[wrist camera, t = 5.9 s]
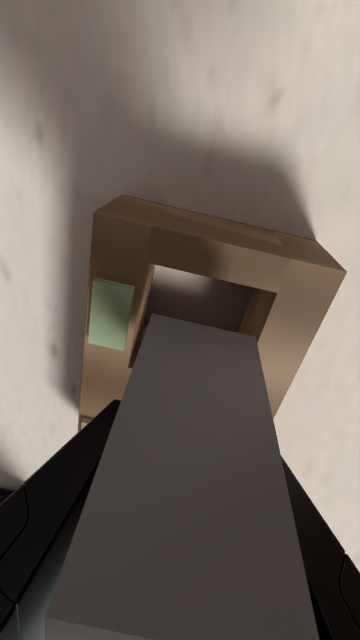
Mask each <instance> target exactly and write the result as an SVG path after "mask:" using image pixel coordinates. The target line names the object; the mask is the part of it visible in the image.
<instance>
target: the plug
mask: <svg viewBox="0 0 360 640" xmlns="http://www.w3.org/2000/svg"><path fill="white" fill-rule="evenodd" d="M45 640H319V635H318V631H317V626H316V621H315V616H314V612H313V607H312V602H311V597H310V593H309V588H308V583H307V578H306V574H305V569H304V564H303V559H302V555H301V550H300V545H299V540H298V536H297V531H296V526H295V521H294V517H293V512H292V507H291V502H290V497H289V493H288V488H287V483H286V478H285V474H284V469H283V464H282V459H281V455H280V450H279V445H278V440H277V436H276V431H275V426H274V421H273V417H272V412H271V407H270V402H269V398H268V393H267V388H266V383H265V379H264V374H263V369H262V364H261V360H260V355H259V350H258V345H257V341H256V337H254V336H250V335H245V334H241V333H237V332H232V331H228V330H224V329H219V328H215V327H210V326H206V325H202V324H197V323H193V322H189V321H184V320H180V319H175V318H171V317H167V316H162V315H158V314H154V313H152V315H151V318H150V320H149V323H148V326H147V329H146V332H145V335H144V337H143V340H142V343H141V346H140V349H139V352H138V354H137V357H136V360H135V363H134V366H133V369H132V371H131V374H130V377H129V380H128V383H127V386H126V388H125V391H124V394H123V397H122V400H121V403H120V405H119V408H118V411H117V414H116V417H115V420H114V422H113V425H112V428H111V431H110V434H109V437H108V439H107V442H106V445H105V448H104V451H103V454H102V456H101V459H100V462H99V465H98V468H97V471H96V473H95V476H94V479H93V482H92V485H91V488H90V490H89V493H88V496H87V499H86V502H85V505H84V507H83V510H82V513H81V516H80V519H79V522H78V524H77V527H76V530H75V533H74V536H73V539H72V541H71V544H70V547H69V550H68V553H67V556H66V558H65V561H64V564H63V567H62V570H61V573H60V575H59V578H58V581H57V584H56V587H55V590H54V593H53V595H52V598H51V601H50V604H49V607H48V610H47V612H46V615H45Z"/></svg>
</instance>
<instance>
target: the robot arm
mask: <svg viewBox="0 0 360 640" xmlns="http://www.w3.org/2000/svg"><path fill="white" fill-rule="evenodd" d="M120 403H121V400H118V399H114V400H113V401H111V402H110V403H109V404H108V405H107V406H106V407H105V408H104V409H103V410H102V411H101V412H100V413H98V414H97V415H96V416H95V417H94V418H93V419H92V420H91V421H90V422H89V423H88V424H87V425H86V426H84V427H83V428H82V429H81V430H80V431H79V432H78V433H77V434H76V435H75V436H74V437H73V438H72V439H70V440H69V441H68V442H67V443H66V444H65V445H64V446H63V447H62V448H61V449H60V450H59V451H58V452H56V453H55V454H54V455H53V456H52V457H51V458H50V459H49V460H48V461H47V462H46V463H45V464H44V465H42V466H41V467H40V468H39V469H38V470H37V471H36V472H35V473H34V474H33V475H32V476H31V477H30V478H28V479H27V480H26V481H25V482H24V485H21V486H20V487H19V488H17V489H16V490H15V491H14V492H9V491H4V490H0V640H44V639H45V615H46V612H47V610H48V607H49V604H50V601H51V598H52V595H53V593H54V590H55V587H56V584H57V581H58V578H59V575H60V573H61V570H62V567H63V564H64V561H65V558H66V556H67V553H68V550H69V547H70V544H71V541H72V539H73V536H74V533H75V530H76V527H77V524H78V522H79V519H80V516H81V513H82V510H83V507H84V505H85V502H86V499H87V496H88V493H89V490H90V488H91V485H92V482H93V479H94V476H95V473H96V471H97V468H98V465H99V462H100V459H101V456H102V454H103V451H104V448H105V445H106V442H107V439H108V437H109V434H110V431H111V428H112V425H113V422H114V420H115V417H116V414H117V411H118V408H119V405H120ZM281 459H282V464H283V469H284V474H285V478H286V483H287V488H288V493H289V497H290V502H291V507H292V512H293V517H294V521H295V526H296V531H297V536H298V540H299V545H300V550H301V555H302V559H303V564H304V569H305V574H306V578H307V583H308V588H309V593H310V597H311V602H312V607H313V612H314V616H315V621H316V626H317V631H318V635H319V640H360V572H359V571H358V569H357V568H356V566H355V565H354V563H353V562H352V560H351V559H350V557H349V556H348V555H347V554H345V550H344V549H343V547H342V546H341V544H340V543H339V541H338V540H337V538H336V537H335V535H334V534H333V532H332V531H331V529H330V528H329V526H328V525H327V523H326V522H325V520H324V519H323V517H322V516H321V514H320V513H319V511H318V510H317V508H316V507H315V506H314V504H313V503H312V501H311V500H310V498H309V497H308V495H307V494H306V492H305V491H304V489H303V488H302V486H301V485H300V483H299V482H298V480H297V479H296V477H295V476H294V474H293V473H292V471H291V470H290V468H289V467H288V465H287V464H286V462H285V461H284V459H283V458H282V456H281Z"/></svg>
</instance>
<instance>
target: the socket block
mask: <svg viewBox="0 0 360 640" xmlns="http://www.w3.org/2000/svg"><path fill="white" fill-rule="evenodd" d="M155 265H160V266H164V267H168V268H173V269H177V270H181V271H185V272H190V273H194V274H198V275H203V276H207V277H211V278H215V279H220V280H224V281H228V282H233V283H237V284H241V285H245V286H250V287H254V288H253V291H252V294H251V296H250V299H249V302H248V305H247V308H246V311H245V313H244V316H243V319H242V322H241V325H240V327H239V330H238V333H241V334H245V335H250V336H254V337H256V341H257V345H258V350H259V355H260V360H261V364H262V369H263V374H264V379H265V383H266V388H267V393H268V398H269V402H270V407H271V412H272V417H273V418H274V416H275V414H276V412H277V410H278V408H279V406H280V404H281V402H282V400H283V399H284V397H285V395H286V393H287V391H288V389H289V387H290V385H291V383H292V381H293V379H294V377H295V375H296V373H297V371H298V369H299V367H300V365H301V363H302V361H303V359H304V357H305V355H306V353H307V351H308V349H309V347H310V345H311V343H312V341H313V339H314V337H315V335H316V333H317V331H318V329H319V327H320V325H321V323H322V321H323V319H324V317H325V315H326V313H327V311H328V309H329V307H330V305H331V303H332V301H333V299H334V297H335V295H336V293H337V291H338V289H339V287H340V285H341V283H342V281H343V279H344V277H345V275H346V273H347V271H346V270H345V269H344V268H343V267H342V266H341V265H340V264H339V263H338V262H337V261H336V260H335V259H334V258H333V257H332V256H331V255H330V254H329V253H328V252H327V251H326V250H325V249H324V248H323V247H322V246H321V245H320V244H319V243H318V242H317V241H314V240H309V239H305V238H301V237H297V236H292V235H288V234H284V233H280V232H276V231H271V230H267V229H263V228H259V227H255V226H250V225H246V224H242V223H238V222H234V221H229V220H225V219H221V218H217V217H213V216H208V215H204V214H200V213H196V212H191V211H187V210H183V209H179V208H175V207H170V206H166V205H162V204H158V203H154V202H149V201H145V200H141V199H137V198H133V197H128V196H124V195H121V196H119V197H117V198H116V199H114V200H113V201H111V202H109V203H108V204H106V205H105V206H103V207H101V208H100V209H98V210H97V211H95V212H94V216H93V230H92V243H91V257H90V271H89V284H88V298H87V312H86V325H85V339H84V353H83V366H82V380H81V394H80V407H79V421H78V432H79V431H80V430H81V429H82V428H83V427H84V426H86V425H87V424H88V423H89V422H90V421H91V420H92V419H93V418H94V417H95V416H96V415H97V414H98V413H100V412H101V411H102V410H103V409H104V408H105V407H106V406H107V405H108V404H109V403H110V402H111V401H113V400H114V399H118V400H122V397H123V394H124V391H125V388H126V386H127V383H128V380H129V377H130V374H131V371H132V369H133V366H134V363H135V360H136V357H137V354H138V352H139V349H140V346H141V343H142V340H143V337H144V335H145V332H146V329H147V326H148V325H146V324H144V323H145V317H146V312H147V306H148V301H149V295H150V289H151V284H152V278H153V273H154V267H155Z"/></svg>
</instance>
